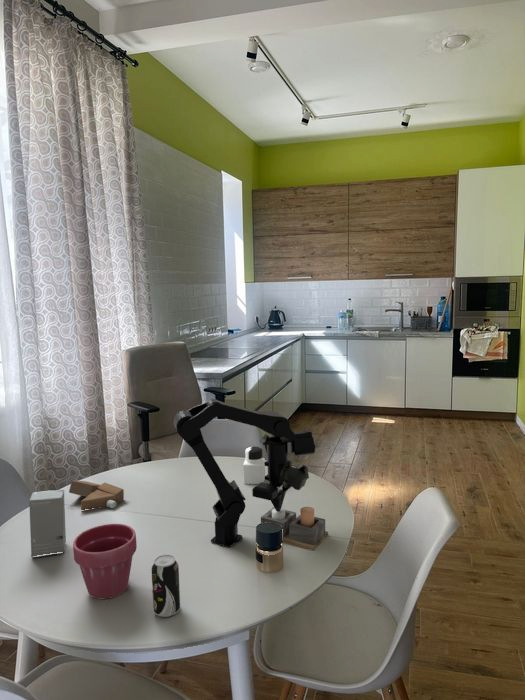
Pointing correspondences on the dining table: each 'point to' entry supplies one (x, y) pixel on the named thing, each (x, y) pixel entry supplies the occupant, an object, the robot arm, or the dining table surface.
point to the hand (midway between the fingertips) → (278, 510)
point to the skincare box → (47, 522)
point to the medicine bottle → (253, 466)
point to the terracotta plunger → (307, 516)
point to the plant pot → (105, 558)
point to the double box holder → (299, 530)
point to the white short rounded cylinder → (278, 514)
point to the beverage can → (165, 586)
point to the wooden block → (97, 494)
